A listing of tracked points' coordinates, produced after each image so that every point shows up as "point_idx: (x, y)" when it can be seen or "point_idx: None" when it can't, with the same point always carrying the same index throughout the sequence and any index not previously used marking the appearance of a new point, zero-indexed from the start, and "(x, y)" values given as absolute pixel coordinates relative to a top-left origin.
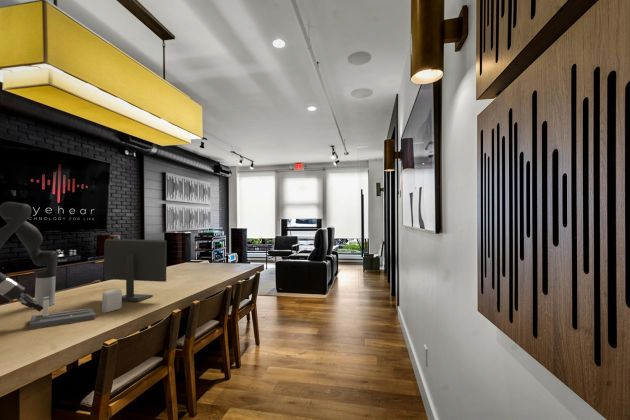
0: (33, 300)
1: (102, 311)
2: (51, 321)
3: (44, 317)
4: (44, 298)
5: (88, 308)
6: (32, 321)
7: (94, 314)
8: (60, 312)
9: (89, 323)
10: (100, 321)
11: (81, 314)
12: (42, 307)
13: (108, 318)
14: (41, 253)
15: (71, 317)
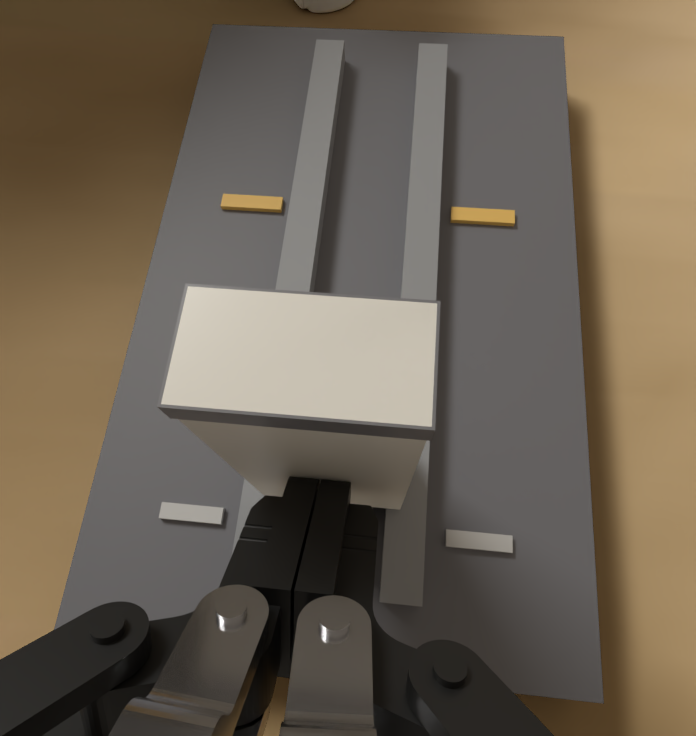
0: (190, 698)
1: (327, 3)
2: (582, 423)
3: (427, 488)
4: (414, 400)
5: (225, 56)
6: None
7: (563, 40)
8: None
9: (692, 133)
10: (671, 59)
11: (471, 131)
12: (341, 489)
13: (597, 3)
14: None
15: (554, 221)
